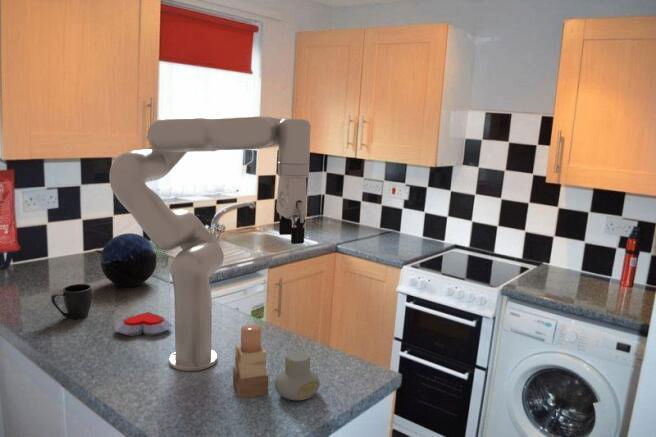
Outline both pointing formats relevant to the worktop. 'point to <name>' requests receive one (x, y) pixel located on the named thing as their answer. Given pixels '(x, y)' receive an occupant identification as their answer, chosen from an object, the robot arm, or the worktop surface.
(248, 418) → the worktop surface
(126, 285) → the decorative sphere
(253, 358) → the top block
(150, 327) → the sculpture
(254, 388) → the base block
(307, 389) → the air freshener
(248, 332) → the brown rounded cylinder
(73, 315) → the mug
